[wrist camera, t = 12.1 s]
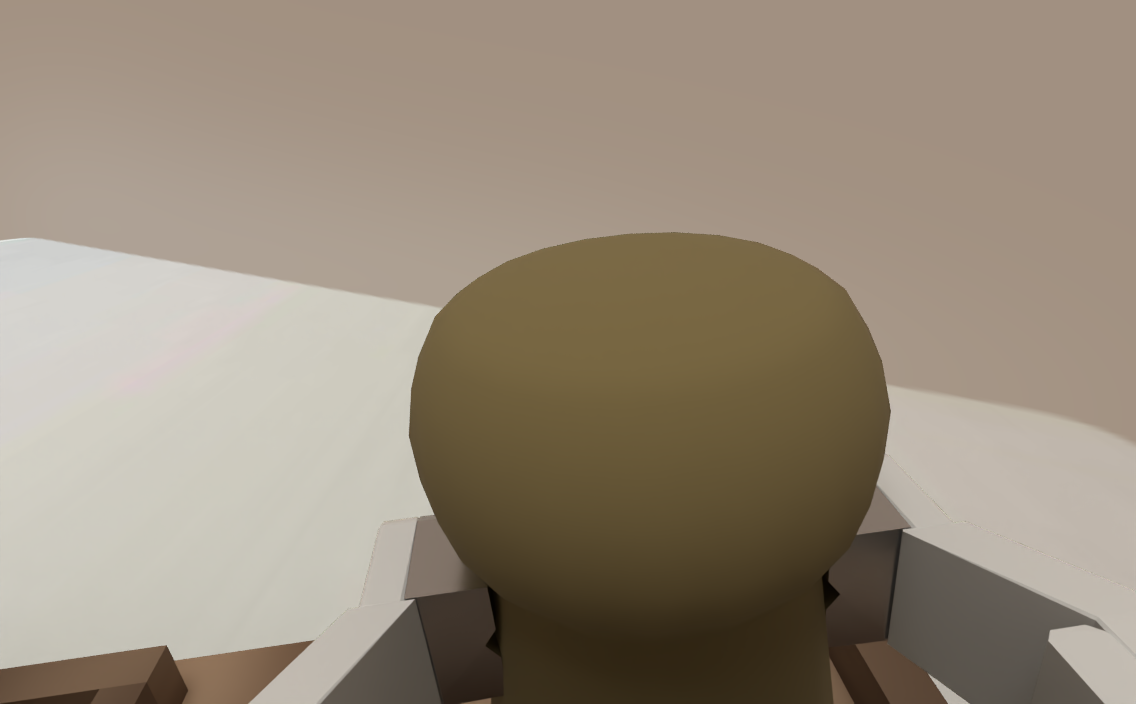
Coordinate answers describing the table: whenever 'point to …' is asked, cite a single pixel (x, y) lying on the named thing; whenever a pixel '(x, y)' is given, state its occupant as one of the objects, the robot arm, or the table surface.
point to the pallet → (232, 680)
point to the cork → (653, 464)
